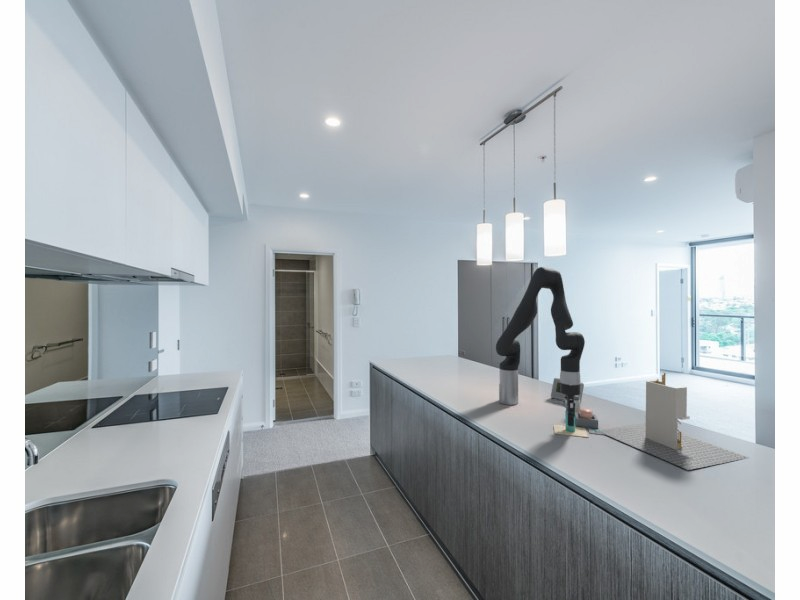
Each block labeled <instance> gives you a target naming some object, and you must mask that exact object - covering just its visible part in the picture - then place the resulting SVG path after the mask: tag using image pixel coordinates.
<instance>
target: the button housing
mask: <svg viewBox="0 0 800 600" xmlns="http://www.w3.org/2000/svg"><path fill="white" fill-rule="evenodd" d="M575 427H581V428H585V429H588V428H590V429H599V419H598V417H597V414H595V413H593V419H587V418H580V413H576V412H575Z"/></svg>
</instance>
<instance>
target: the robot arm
mask: <svg viewBox="0 0 800 600" xmlns="http://www.w3.org/2000/svg"><path fill="white" fill-rule="evenodd" d="M541 289H548V290H550V291H551V294H552V297H553V298H552V299H553V300H552V303H551V307H550V315H551V318H552V321H553V324H554V329H555V344H556V346H557V347H558V349H560V350H561V351H569V353H568V354H565V355H562V356H561V357H560V372H559V378H560V392H561V393H562V394H566V395H565V396H566V397H565V401H564V406H565V411H566V410H567V416H568V426H574V417H575V410H576V408H575V404H576V399H575V398H574V396H575V395H580V382H581V372H580V371H581V369H580V368H581V365H580V364H581V358H582V354H583V351H584V349H585V343H586V342H585V337H584V335H583V334H582V333H581V332H576V331H575V332H574V331H573V332H571V331H570V332H569V331H568V330H570V329H571V328H572V327H573V326H574V321H573V318H572V316H571V313H570V311H569V307H568V305H567V302H566V301H567V300H566V294H565V288H564V282H563V277H562V274H561V272H560V271H559V270H558V269H555V268H551V267H544V266H540V267H538V268H536V270H534V272H533V274H532V276H531V278H530V281H529V283H528V286H527V287H526V291H525V293H524V294H523V297H522V298H521V301H520V303H519V304H518V306H517V307H516V309H515V312H514V313H513V316H512V317H511V319H510V321H509V323H507V326H506V328H505V329H504V330H503V332H502V334H501V335H500V337H499V338H498V340H497V341H496V345H495V351H496V354H497V355H499V356H500V357H505V358H504V359H503V361H500V363H499V384H498V403H499V404H503V405H507V406H508V405H510V406H511V405H512V406H513V405H517V404H519V367H520V363H521V344H520V341H519V340H518V338H517V337H518V336H519V335H521V334H522V333H524V331H526V330H527V329H528V328H529V327H530V326H531V325H532V323H534V322H533V321H534V320H535V318H536V317H537V314H538V301H537V298H538V295H539V293H540V291H541ZM567 331H568V332H567ZM569 412H573V414H571V413H569Z"/></svg>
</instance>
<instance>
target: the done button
mask: <svg viewBox="0 0 800 600" xmlns="http://www.w3.org/2000/svg"><path fill="white" fill-rule="evenodd" d="M593 414H594V411H593V410H592V409H590V408H580V418H587V419H593Z"/></svg>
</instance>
